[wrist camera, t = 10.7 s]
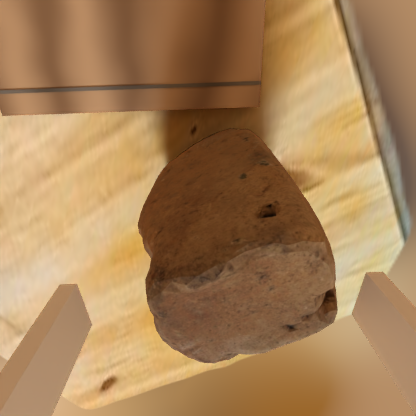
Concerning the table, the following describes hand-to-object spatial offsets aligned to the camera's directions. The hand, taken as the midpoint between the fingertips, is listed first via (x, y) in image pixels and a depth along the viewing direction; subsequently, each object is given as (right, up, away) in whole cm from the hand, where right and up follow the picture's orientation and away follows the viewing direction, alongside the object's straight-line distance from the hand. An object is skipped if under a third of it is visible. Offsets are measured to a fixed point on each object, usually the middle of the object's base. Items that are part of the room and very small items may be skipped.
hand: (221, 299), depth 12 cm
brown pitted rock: (0, +9, +16) cm, 19 cm away
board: (-8, +19, +11) cm, 23 cm away
